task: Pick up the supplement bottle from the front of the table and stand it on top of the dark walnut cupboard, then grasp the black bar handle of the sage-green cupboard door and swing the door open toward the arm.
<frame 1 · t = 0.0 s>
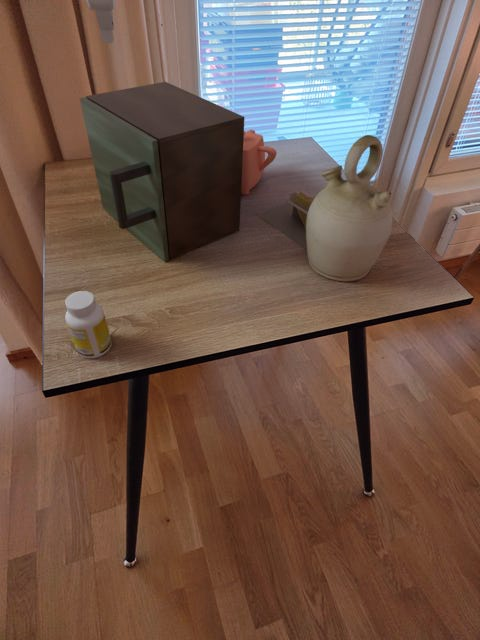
hand: (108, 35, 69), 34 cm above the table, tool pointing down, fingers open, 8 cm apart
jug: (337, 264, 84), on the table
cupboard: (172, 219, 93), on the table
teapot: (235, 186, 106), on the table
coffee cup: (143, 173, 110), on the table
cupboard door: (109, 185, 79), point 12 cm above the table, hinge at 0.0°
platform: (301, 224, 94), on the table
supplement bottle: (94, 347, 65), on the table
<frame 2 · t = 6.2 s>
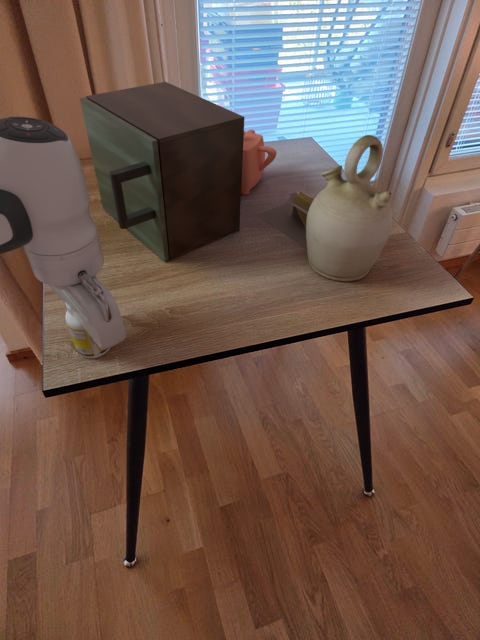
hand: (89, 330, 63), 4 cm above the table, tool pointing down, fingers closed on supplement bottle, 5 cm apart
supplement bottle: (94, 347, 65), on the table, touching gripper
everything else where it was.
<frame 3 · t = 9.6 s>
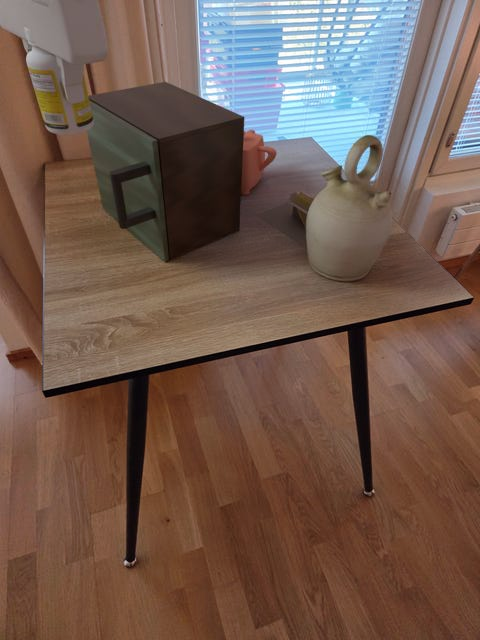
hand: (61, 93, 46), 35 cm above the table, tool pointing down, fingers closed on supplement bottle, 5 cm apart
supplement bottle: (70, 129, 49), point 31 cm above the table, touching gripper
everything else where it was.
when the fingers open (27 cm above the table, at t = 13.3 s): supplement bottle stays where it is, resting on cupboard.
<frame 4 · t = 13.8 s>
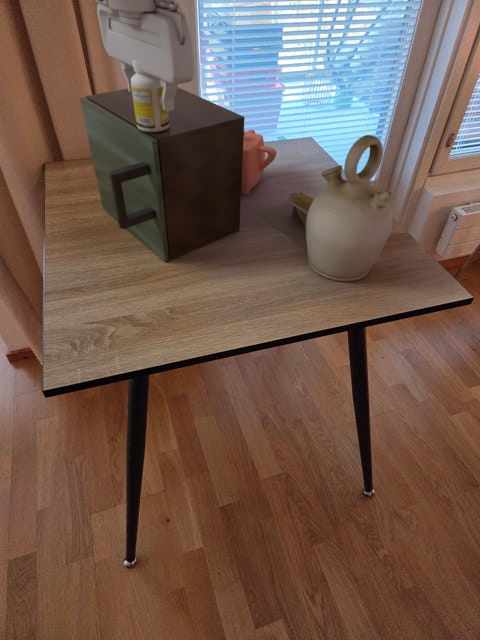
hand: (150, 101, 67), 28 cm above the table, tool pointing down, fingers open, 8 cm apart
supplement bottle: (153, 128, 69), point 23 cm above the table, touching cupboard
everything else where it was.
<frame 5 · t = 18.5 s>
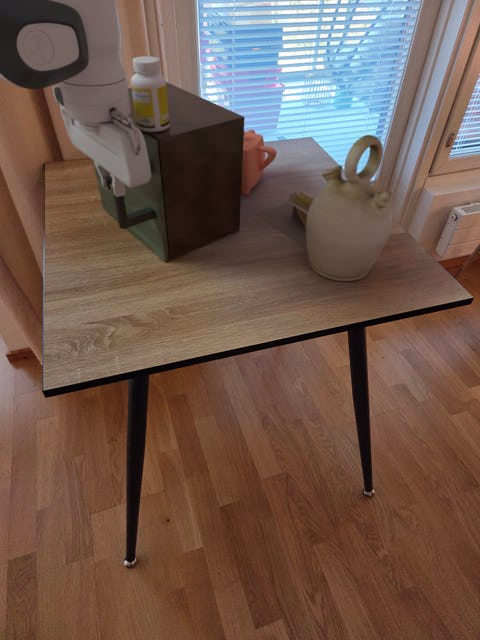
hand: (114, 190, 69), 16 cm above the table, tool pointing down, fingers closed on cupboard door, 2 cm apart
cupboard door: (109, 185, 79), point 12 cm above the table, hinge at 0.0°, touching gripper
everything else where it was.
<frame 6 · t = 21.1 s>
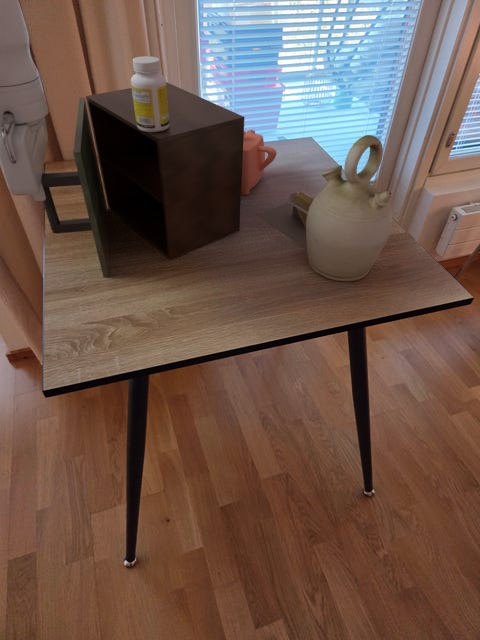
hand: (41, 194, 67), 16 cm above the table, tool pointing down, fingers closed on cupboard door, 2 cm apart
cupboard door: (75, 187, 78), point 12 cm above the table, hinge at 27.1°, touching gripper
everything else where it was.
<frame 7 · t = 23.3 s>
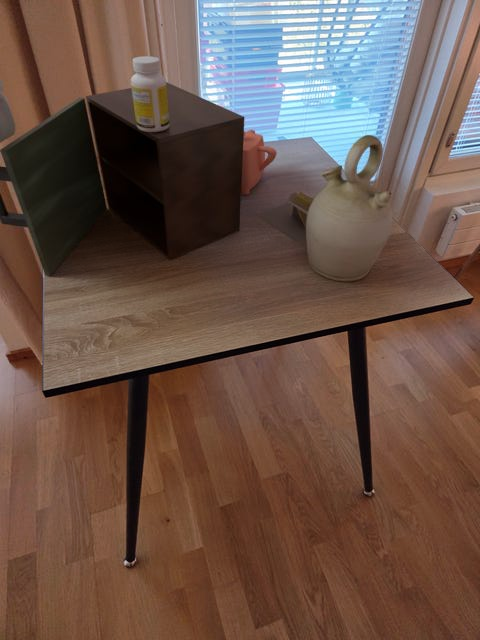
cupboard door: (48, 183, 78), point 12 cm above the table, hinge at 51.0°
everything else where it was.
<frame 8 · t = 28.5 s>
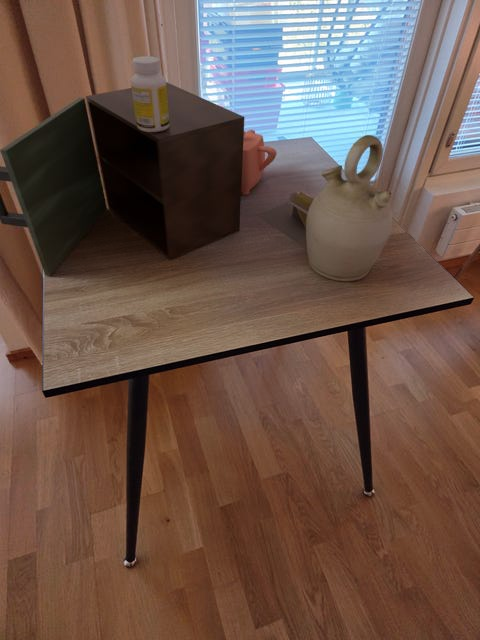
nothing on the table moved.
at the end: cupboard door at +51° (first picture: +0°); supplement bottle inside the target area on the cupboard (10.7 cm from its centre), point 23.4 cm above the cupboard's base; supplement bottle tilted 0° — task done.
